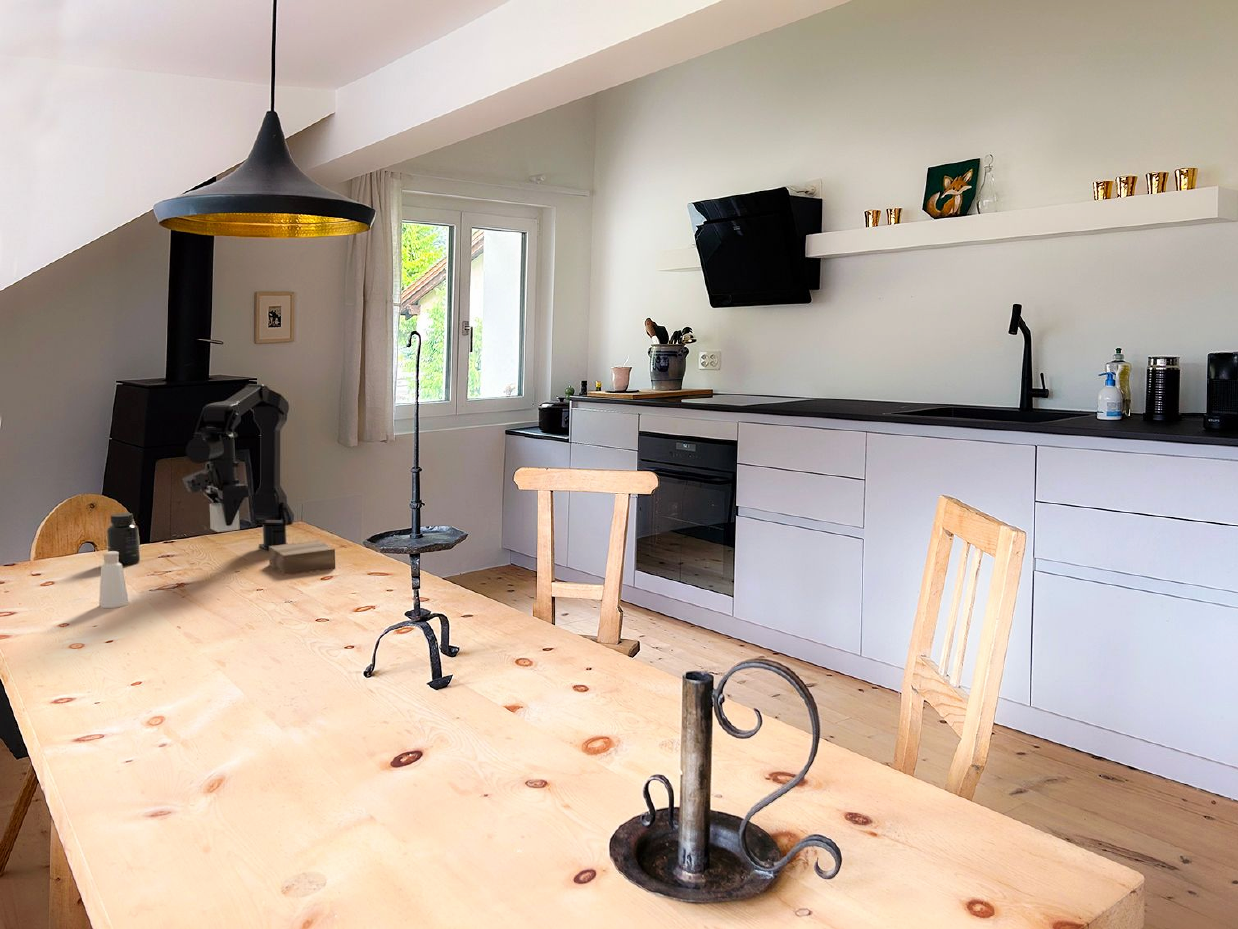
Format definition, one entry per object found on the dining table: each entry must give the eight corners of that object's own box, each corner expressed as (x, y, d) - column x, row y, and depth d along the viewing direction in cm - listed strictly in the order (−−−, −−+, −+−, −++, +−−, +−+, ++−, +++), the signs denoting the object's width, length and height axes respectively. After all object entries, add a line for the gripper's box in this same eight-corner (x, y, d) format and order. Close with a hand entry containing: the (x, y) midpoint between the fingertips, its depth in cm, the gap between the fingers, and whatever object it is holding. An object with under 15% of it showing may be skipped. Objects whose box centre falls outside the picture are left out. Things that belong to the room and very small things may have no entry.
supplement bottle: (101, 565, 228) (98, 516, 226) (124, 559, 234) (121, 511, 233) (124, 567, 226) (121, 517, 224) (146, 561, 232) (144, 513, 231)
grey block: (210, 528, 223) (209, 503, 223) (232, 526, 227) (231, 501, 226) (217, 532, 220) (216, 506, 219) (239, 529, 223) (238, 504, 222)
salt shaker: (97, 609, 191) (94, 556, 189) (100, 602, 196) (97, 550, 194) (127, 606, 193) (124, 554, 191) (129, 600, 198) (126, 548, 196)
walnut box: (269, 566, 230) (268, 546, 229) (318, 560, 237) (317, 540, 236) (284, 576, 220) (284, 555, 219) (335, 569, 227) (334, 549, 226)
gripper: (173, 456, 223) (176, 521, 225) (198, 465, 209) (202, 534, 211) (222, 453, 230) (224, 516, 232) (249, 461, 216) (252, 528, 218)
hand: (224, 523), depth 223 cm, fingers closed on grey block, 5 cm apart
